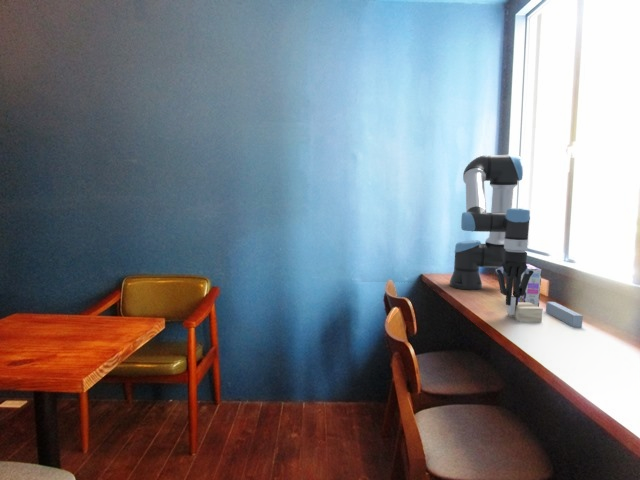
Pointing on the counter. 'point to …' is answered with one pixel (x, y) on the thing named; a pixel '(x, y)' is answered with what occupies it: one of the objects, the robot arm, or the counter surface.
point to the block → (527, 312)
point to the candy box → (532, 286)
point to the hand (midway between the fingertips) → (510, 313)
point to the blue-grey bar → (564, 314)
